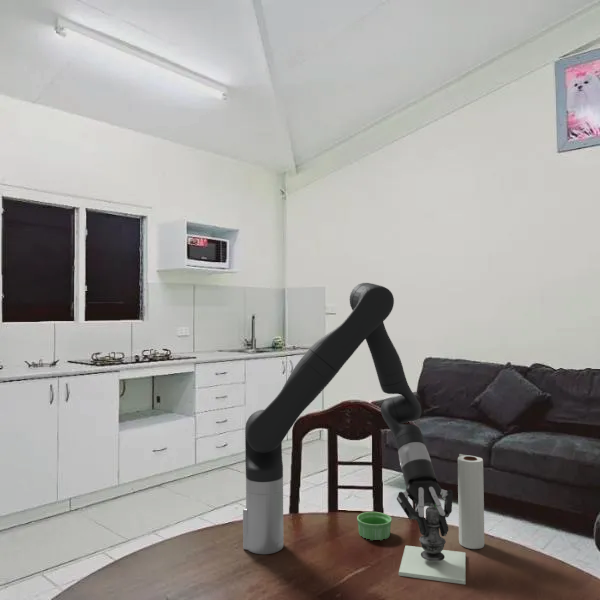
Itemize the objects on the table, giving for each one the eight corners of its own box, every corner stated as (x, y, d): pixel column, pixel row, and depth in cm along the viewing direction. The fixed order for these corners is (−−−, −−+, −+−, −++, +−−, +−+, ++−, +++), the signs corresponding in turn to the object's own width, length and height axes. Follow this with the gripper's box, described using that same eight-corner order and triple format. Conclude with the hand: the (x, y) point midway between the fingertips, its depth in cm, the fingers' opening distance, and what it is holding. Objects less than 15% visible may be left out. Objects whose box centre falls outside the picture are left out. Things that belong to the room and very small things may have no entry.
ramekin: (353, 528, 144) (353, 512, 144) (386, 527, 145) (386, 510, 145) (361, 543, 135) (361, 525, 135) (396, 541, 136) (396, 523, 136)
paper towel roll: (483, 551, 130) (482, 462, 130) (457, 547, 132) (456, 459, 132) (485, 539, 136) (484, 454, 137) (460, 536, 139) (459, 452, 139)
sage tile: (398, 575, 118) (398, 571, 118) (405, 548, 132) (405, 545, 132) (465, 584, 114) (465, 580, 114) (465, 555, 127) (465, 552, 127)
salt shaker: (446, 562, 120) (446, 508, 120) (419, 560, 121) (419, 506, 121) (445, 551, 125) (444, 499, 126) (419, 549, 126) (418, 497, 127)
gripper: (392, 459, 130) (409, 530, 118) (447, 456, 132) (470, 526, 119) (385, 474, 135) (401, 544, 123) (439, 471, 137) (460, 540, 125)
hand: (435, 535), depth 121 cm, fingers closed on salt shaker, 3 cm apart
